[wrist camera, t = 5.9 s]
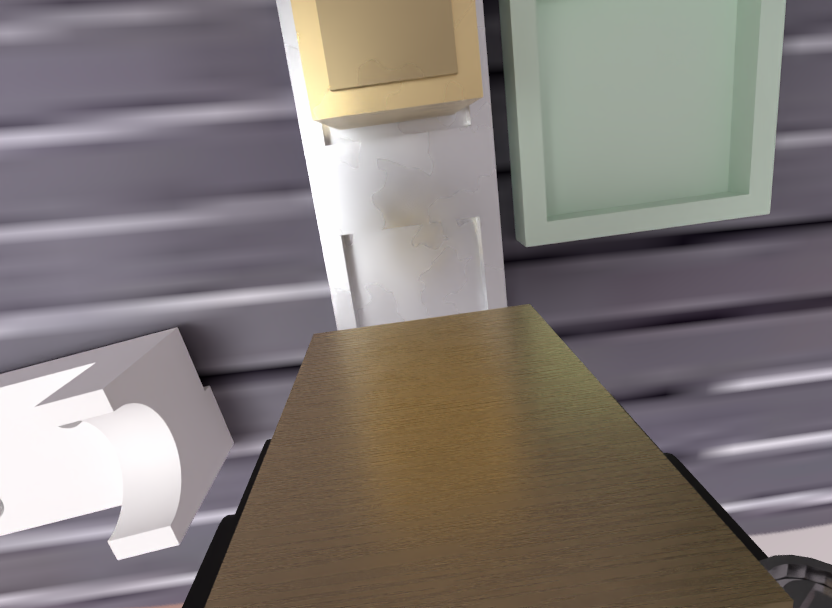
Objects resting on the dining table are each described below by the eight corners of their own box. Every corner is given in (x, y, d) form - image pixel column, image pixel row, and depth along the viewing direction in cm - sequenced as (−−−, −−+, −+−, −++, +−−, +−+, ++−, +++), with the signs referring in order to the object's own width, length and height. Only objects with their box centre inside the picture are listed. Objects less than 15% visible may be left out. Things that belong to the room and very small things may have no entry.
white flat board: (272, -59, 21) (261, -77, 19) (467, -85, 21) (474, -105, 19) (353, 385, 27) (350, 401, 25) (505, 365, 27) (512, 379, 25)
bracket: (185, 320, 25) (102, 389, 18) (235, 440, 28) (179, 544, 20) (-59, 385, 26) (-234, 477, 19) (9, 498, 28) (-125, 620, 21)
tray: (497, -19, 21) (507, -35, 19) (756, -54, 21) (791, -73, 20) (515, 239, 25) (526, 247, 23) (740, 208, 25) (769, 213, 23)
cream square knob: (318, 2, 21) (272, -88, 13) (439, -14, 21) (467, -114, 13) (339, 130, 22) (310, 120, 14) (452, 114, 22) (485, 95, 14)
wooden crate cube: (313, 334, 12) (154, 732, 4) (530, 304, 12) (824, 634, 4) (350, 513, 13) (291, 1068, 5) (541, 486, 13) (769, 995, 5)
